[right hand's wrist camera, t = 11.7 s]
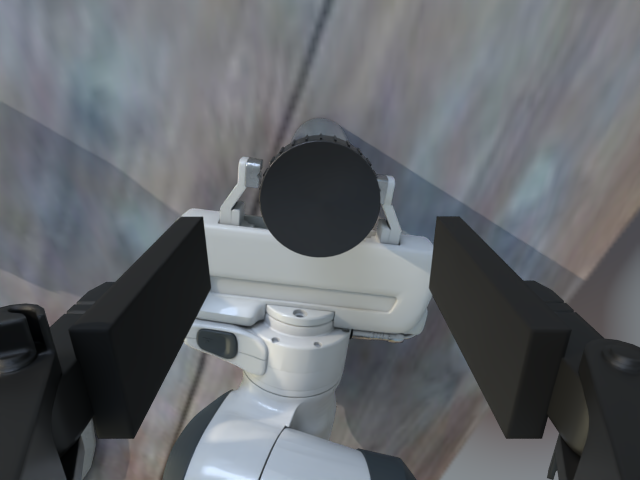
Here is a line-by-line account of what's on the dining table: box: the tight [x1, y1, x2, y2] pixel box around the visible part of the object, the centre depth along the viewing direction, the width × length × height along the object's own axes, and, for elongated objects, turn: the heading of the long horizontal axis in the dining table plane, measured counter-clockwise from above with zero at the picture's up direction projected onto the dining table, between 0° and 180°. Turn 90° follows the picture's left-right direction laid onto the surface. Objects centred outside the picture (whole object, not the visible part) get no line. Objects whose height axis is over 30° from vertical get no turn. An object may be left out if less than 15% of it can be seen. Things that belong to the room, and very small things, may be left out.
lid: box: [259, 133, 381, 258], centre depth 21 cm, size 6×6×2 cm
